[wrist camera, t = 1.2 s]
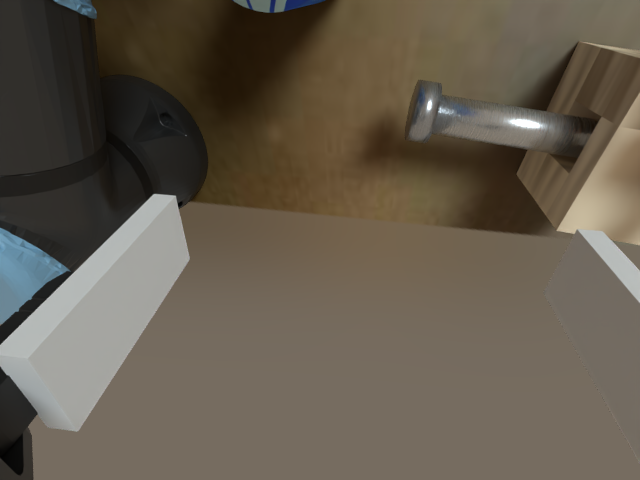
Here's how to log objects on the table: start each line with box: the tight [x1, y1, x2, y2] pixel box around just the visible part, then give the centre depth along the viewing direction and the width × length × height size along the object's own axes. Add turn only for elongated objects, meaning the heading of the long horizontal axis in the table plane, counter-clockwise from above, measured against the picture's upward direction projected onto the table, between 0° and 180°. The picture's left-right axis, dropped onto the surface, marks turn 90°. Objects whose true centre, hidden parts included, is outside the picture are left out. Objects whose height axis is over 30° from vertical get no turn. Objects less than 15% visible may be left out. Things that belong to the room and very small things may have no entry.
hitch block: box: [516, 41, 640, 245], centre depth 29 cm, size 8×12×10 cm, turn 173°
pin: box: [405, 80, 599, 158], centre depth 29 cm, size 16×5×5 cm, turn 83°
